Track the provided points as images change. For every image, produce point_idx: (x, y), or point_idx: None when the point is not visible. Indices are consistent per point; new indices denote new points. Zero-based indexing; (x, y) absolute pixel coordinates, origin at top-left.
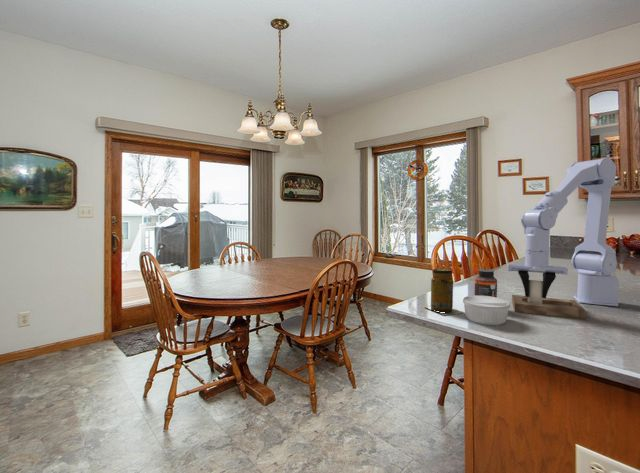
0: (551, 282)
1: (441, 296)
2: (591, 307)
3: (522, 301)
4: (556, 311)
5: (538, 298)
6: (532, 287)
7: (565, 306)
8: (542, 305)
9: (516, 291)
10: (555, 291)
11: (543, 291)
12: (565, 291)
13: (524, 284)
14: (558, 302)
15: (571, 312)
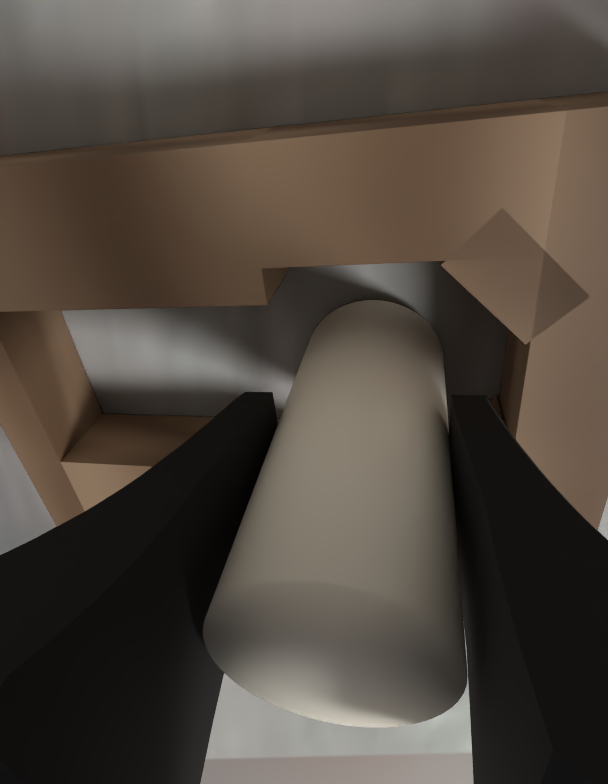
0: (31, 547)
1: None
2: (26, 530)
3: (538, 309)
4: (151, 146)
5: (327, 372)
6: (401, 492)
7: (59, 271)
8: (291, 186)
9: (446, 744)
10: (233, 751)
11: (245, 471)
12: None
13: (577, 525)
14: (160, 457)
15: (10, 160)
